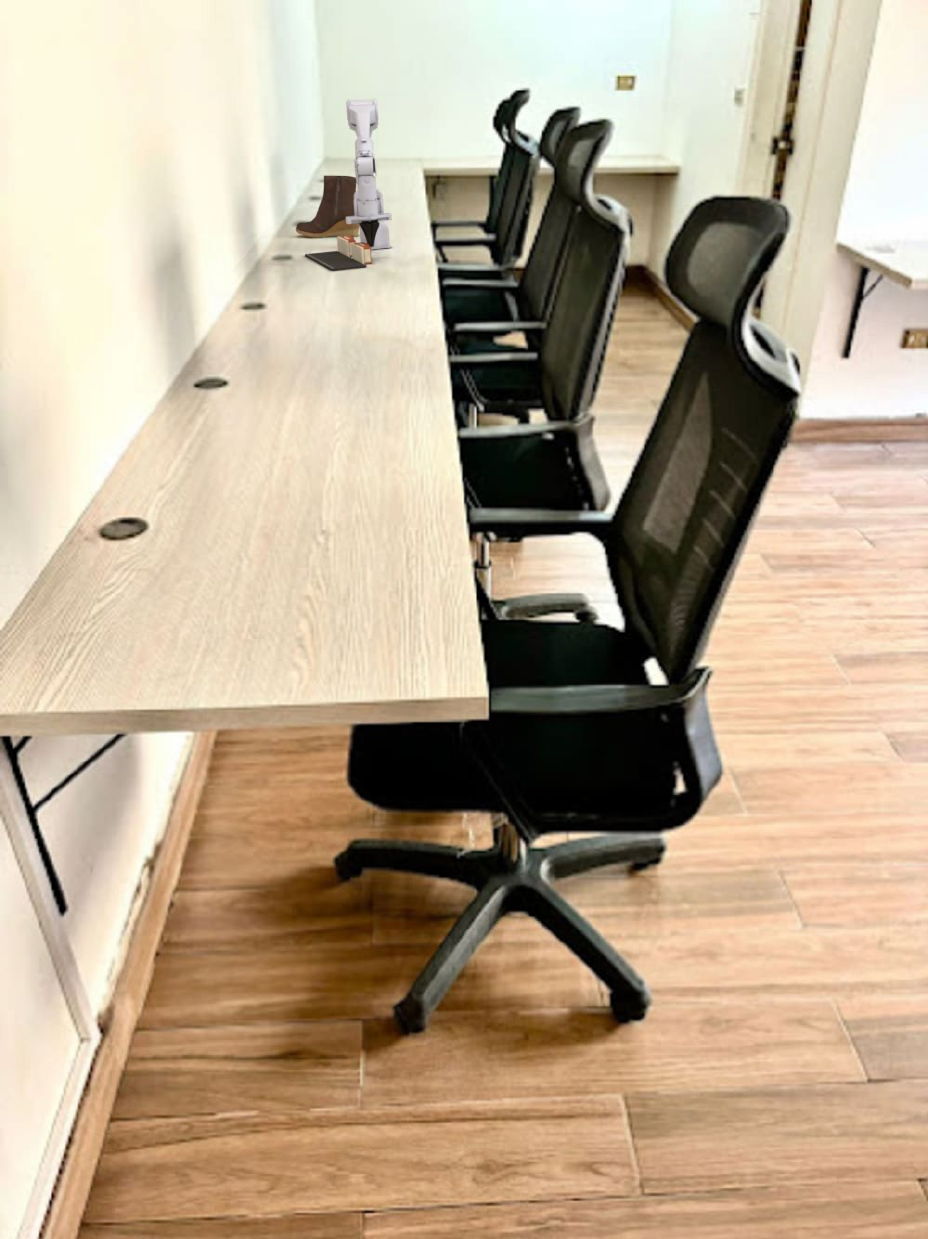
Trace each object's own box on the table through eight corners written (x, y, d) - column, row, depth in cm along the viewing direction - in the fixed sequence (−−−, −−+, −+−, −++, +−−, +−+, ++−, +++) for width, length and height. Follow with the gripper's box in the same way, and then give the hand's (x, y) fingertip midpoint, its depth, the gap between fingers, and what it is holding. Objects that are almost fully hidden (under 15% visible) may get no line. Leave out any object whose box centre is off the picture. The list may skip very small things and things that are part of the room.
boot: (299, 234, 347) (293, 173, 337) (364, 233, 345) (360, 173, 334) (293, 238, 340) (287, 176, 329) (360, 238, 337) (355, 176, 327)
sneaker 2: (364, 258, 305) (363, 241, 302) (375, 263, 298) (373, 246, 295) (352, 259, 303) (350, 243, 301) (362, 264, 296) (361, 247, 293)
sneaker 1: (350, 251, 316) (348, 235, 313) (359, 256, 308) (358, 239, 306) (338, 252, 314) (336, 236, 312) (347, 257, 307) (346, 240, 304)
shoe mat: (337, 252, 314) (336, 250, 314) (366, 267, 293) (366, 265, 292) (305, 256, 311) (304, 253, 310) (332, 271, 289) (332, 268, 288)
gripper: (349, 203, 287) (353, 250, 295) (394, 199, 293) (396, 246, 300) (342, 200, 293) (345, 247, 300) (385, 196, 298) (388, 242, 305)
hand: (370, 246), depth 300 cm, fingers closed
